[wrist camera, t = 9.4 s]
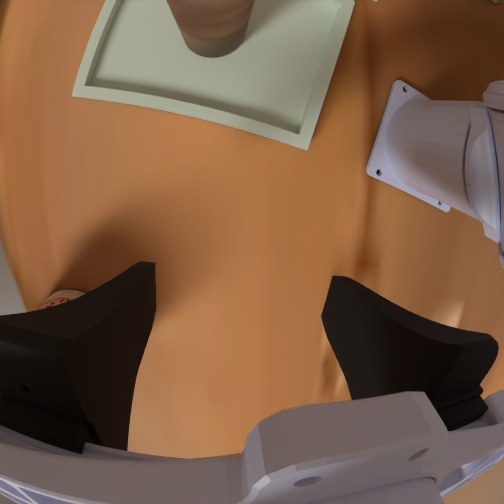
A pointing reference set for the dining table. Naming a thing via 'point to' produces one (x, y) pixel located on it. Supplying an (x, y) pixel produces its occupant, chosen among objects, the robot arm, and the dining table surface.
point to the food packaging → (497, 1)
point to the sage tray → (220, 65)
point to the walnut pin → (212, 24)
